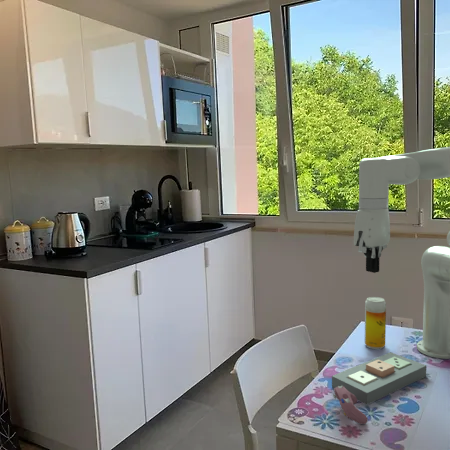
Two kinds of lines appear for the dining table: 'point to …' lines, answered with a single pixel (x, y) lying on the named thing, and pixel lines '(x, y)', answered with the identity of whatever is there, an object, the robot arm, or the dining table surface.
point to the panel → (380, 379)
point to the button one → (362, 378)
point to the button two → (380, 368)
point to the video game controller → (349, 405)
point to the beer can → (375, 322)
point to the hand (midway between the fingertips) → (372, 271)
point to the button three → (397, 363)
